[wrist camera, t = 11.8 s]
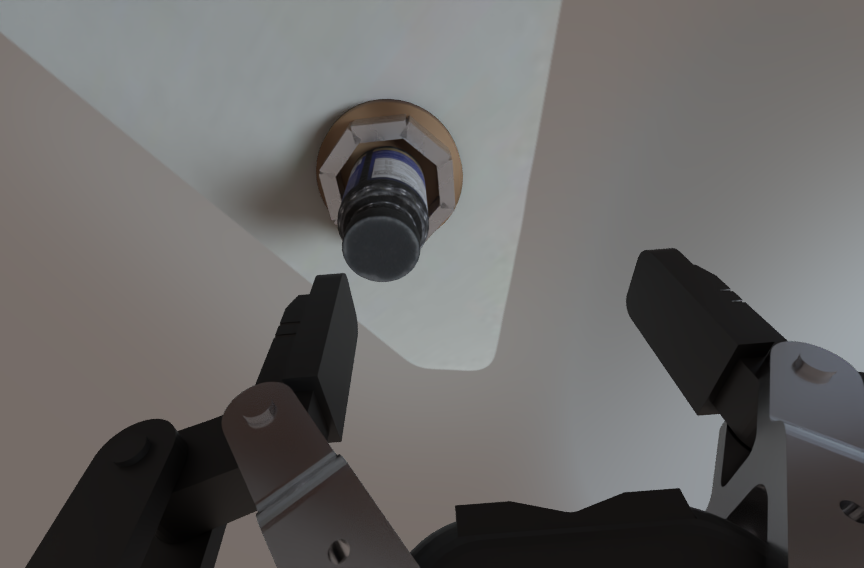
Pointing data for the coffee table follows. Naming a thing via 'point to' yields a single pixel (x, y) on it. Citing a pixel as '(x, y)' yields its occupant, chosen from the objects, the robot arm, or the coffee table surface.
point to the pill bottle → (384, 214)
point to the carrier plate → (398, 129)
